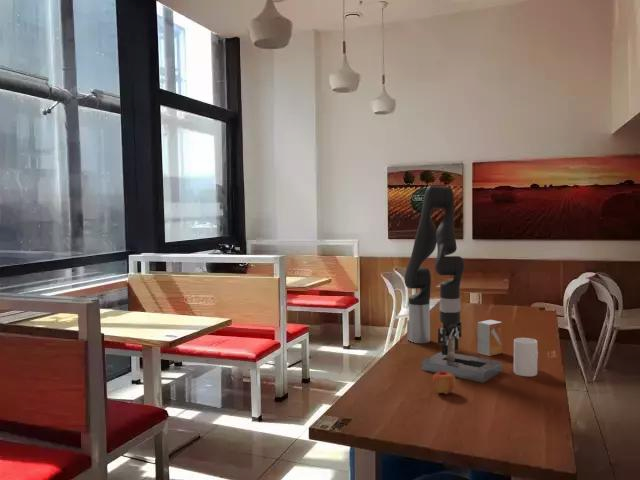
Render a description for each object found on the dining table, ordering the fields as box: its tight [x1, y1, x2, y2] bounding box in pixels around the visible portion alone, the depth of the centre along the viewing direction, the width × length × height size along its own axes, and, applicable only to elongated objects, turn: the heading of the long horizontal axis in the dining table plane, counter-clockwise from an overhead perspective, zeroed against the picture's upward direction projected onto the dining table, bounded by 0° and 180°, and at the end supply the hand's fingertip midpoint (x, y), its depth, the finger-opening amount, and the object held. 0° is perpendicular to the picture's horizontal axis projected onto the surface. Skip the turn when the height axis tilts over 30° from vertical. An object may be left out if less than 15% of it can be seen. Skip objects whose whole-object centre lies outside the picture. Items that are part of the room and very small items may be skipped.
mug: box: [513, 337, 539, 377], centre depth 195 cm, size 8×12×12 cm
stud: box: [446, 336, 456, 362], centre depth 200 cm, size 5×5×12 cm
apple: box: [432, 368, 457, 395], centre depth 174 cm, size 7×7×8 cm
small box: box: [477, 319, 503, 357], centre depth 219 cm, size 8×6×13 cm
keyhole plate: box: [421, 351, 503, 384], centre depth 197 cm, size 24×16×4 cm, turn 49°
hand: (450, 352), depth 200 cm, fingers open, 8 cm apart
